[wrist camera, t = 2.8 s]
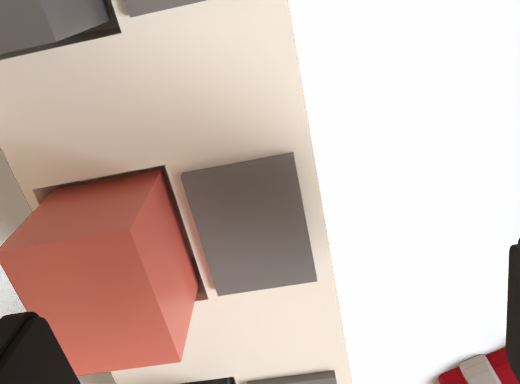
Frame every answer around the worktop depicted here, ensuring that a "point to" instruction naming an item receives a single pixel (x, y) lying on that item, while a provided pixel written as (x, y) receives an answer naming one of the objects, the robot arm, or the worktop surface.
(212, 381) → the button
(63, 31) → the button
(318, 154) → the worktop surface
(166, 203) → the button
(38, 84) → the button panel
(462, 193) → the worktop surface
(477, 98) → the worktop surface
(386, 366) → the worktop surface
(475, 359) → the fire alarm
